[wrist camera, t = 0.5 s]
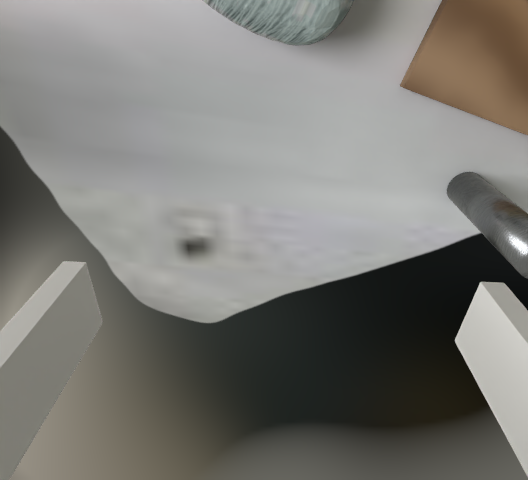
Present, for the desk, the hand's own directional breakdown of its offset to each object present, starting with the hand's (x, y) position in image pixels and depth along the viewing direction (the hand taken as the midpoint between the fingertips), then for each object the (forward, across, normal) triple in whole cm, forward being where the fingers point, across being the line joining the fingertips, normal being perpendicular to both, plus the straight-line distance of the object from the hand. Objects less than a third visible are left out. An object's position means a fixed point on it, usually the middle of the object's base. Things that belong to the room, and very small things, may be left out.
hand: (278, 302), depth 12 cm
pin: (+25, +19, -6) cm, 32 cm away
